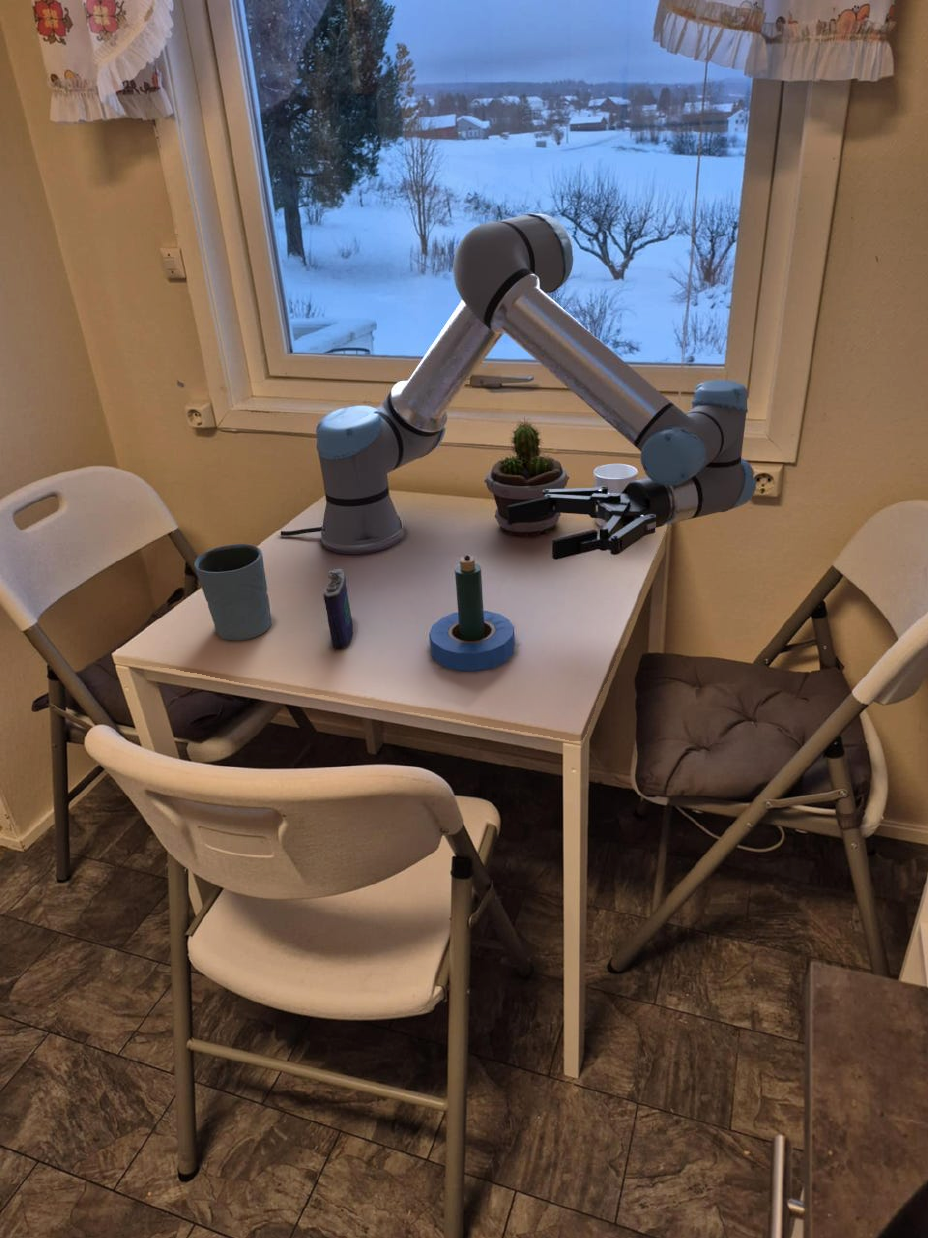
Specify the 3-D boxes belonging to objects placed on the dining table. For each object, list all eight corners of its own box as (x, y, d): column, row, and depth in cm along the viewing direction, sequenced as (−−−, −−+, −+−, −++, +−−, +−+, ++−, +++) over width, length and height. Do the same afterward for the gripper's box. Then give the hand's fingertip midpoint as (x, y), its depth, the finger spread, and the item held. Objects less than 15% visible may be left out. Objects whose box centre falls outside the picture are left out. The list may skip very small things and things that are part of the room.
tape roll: (415, 658, 122) (413, 641, 121) (459, 620, 131) (458, 603, 130) (488, 679, 117) (487, 661, 115) (528, 638, 125) (528, 620, 124)
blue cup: (245, 648, 128) (229, 577, 122) (196, 635, 132) (178, 565, 126) (289, 617, 135) (276, 549, 129) (241, 605, 140) (226, 538, 134)
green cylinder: (456, 651, 123) (448, 558, 116) (469, 640, 126) (462, 548, 119) (477, 657, 122) (471, 563, 114) (490, 645, 124) (485, 552, 117)
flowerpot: (566, 543, 153) (565, 434, 143) (481, 541, 156) (475, 434, 146) (571, 511, 165) (571, 409, 155) (493, 510, 168) (488, 410, 158)
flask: (337, 619, 134) (327, 557, 129) (355, 618, 134) (347, 556, 128) (330, 650, 126) (320, 586, 121) (350, 649, 126) (341, 585, 120)
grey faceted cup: (635, 531, 156) (637, 479, 151) (591, 530, 157) (592, 478, 152) (636, 514, 162) (638, 463, 157) (594, 513, 164) (595, 463, 159)
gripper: (709, 556, 118) (574, 592, 111) (611, 497, 138) (492, 525, 131) (714, 505, 114) (575, 539, 107) (613, 452, 134) (490, 478, 127)
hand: (529, 531), depth 119 cm, fingers open, 13 cm apart
